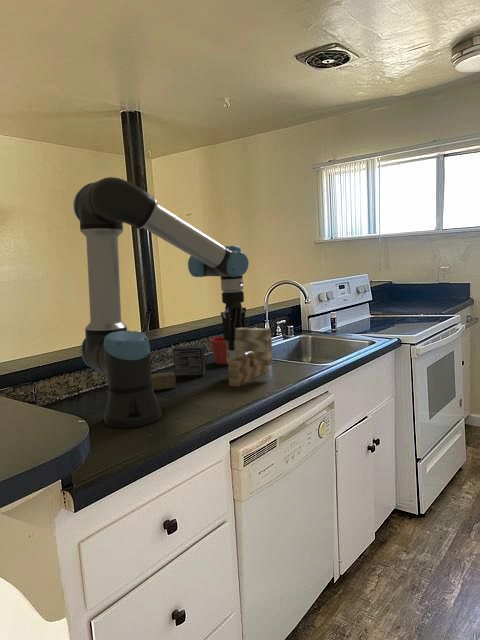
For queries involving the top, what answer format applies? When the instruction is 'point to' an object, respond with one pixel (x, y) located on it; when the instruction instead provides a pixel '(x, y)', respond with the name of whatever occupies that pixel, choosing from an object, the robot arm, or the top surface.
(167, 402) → the top surface
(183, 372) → the small box
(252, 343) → the beige wooden slab
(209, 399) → the top surface
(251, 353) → the oak board
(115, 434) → the top surface
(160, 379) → the stone block
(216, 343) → the flower pot
